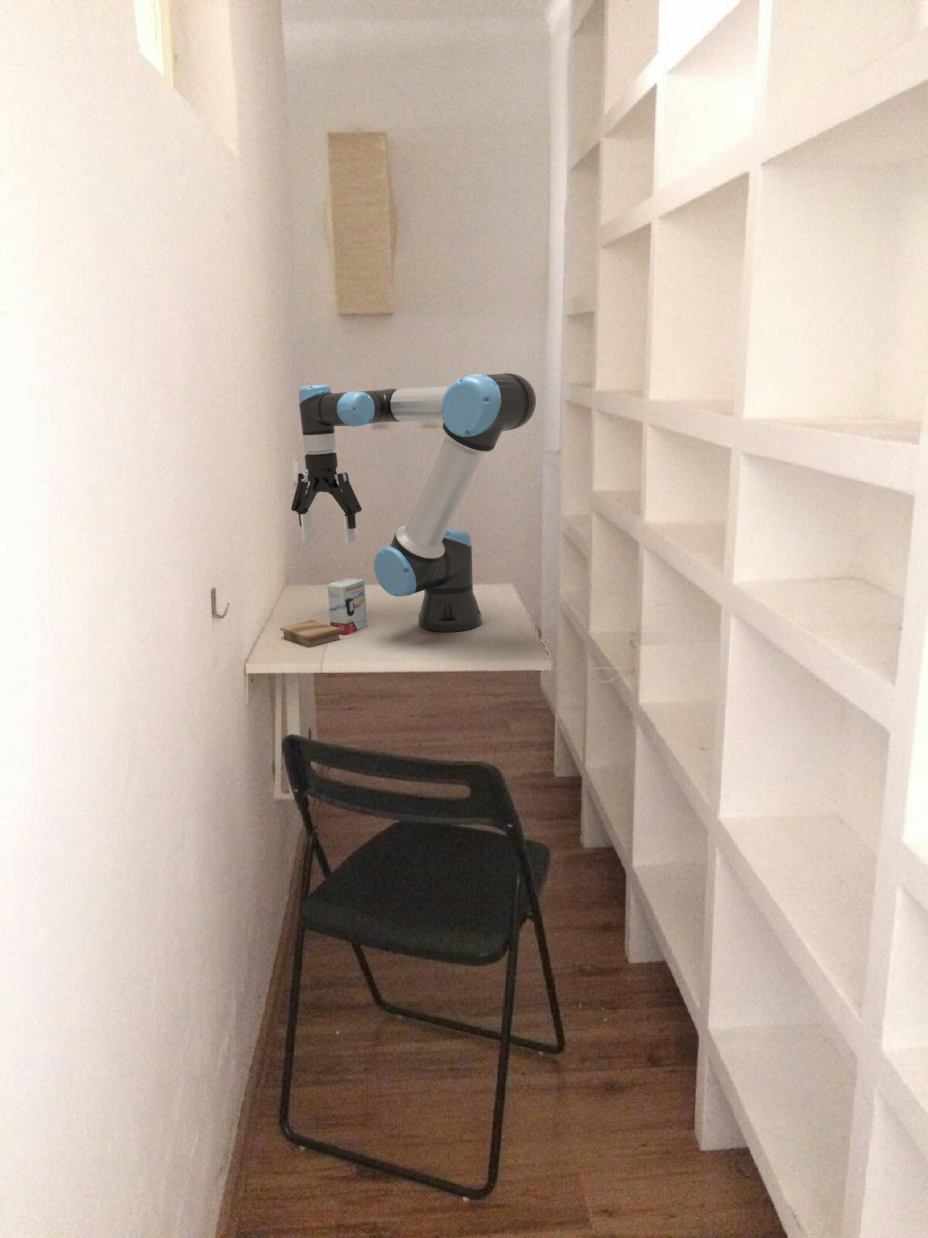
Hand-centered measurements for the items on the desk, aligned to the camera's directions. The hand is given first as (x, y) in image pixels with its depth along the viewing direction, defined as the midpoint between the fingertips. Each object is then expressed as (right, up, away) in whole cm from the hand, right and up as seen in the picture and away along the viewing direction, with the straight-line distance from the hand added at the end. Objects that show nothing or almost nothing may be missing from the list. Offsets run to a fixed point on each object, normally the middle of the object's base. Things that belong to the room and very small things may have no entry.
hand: (328, 541), depth 234 cm
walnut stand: (-3, -23, -8) cm, 25 cm away
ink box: (+5, -22, -2) cm, 22 cm away
